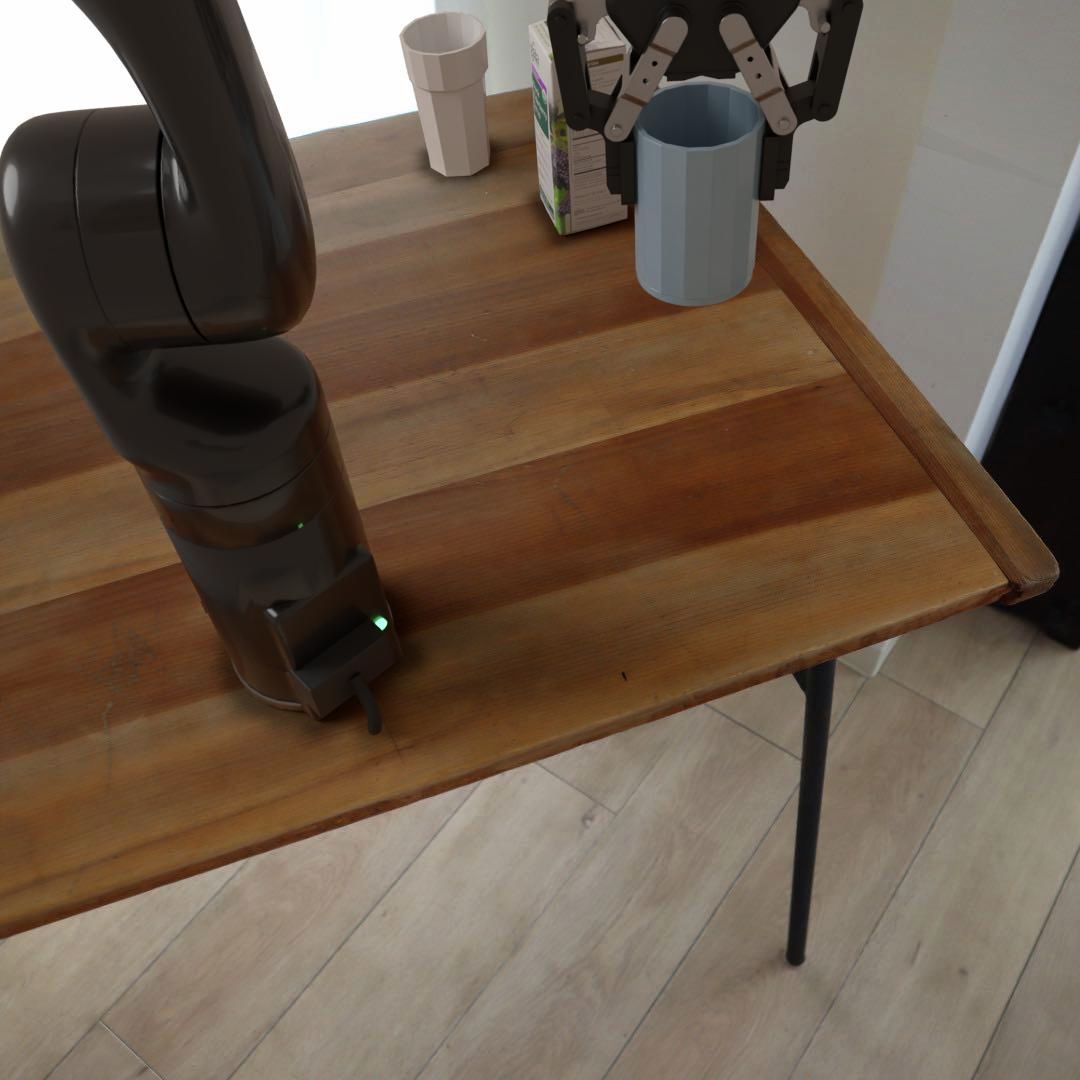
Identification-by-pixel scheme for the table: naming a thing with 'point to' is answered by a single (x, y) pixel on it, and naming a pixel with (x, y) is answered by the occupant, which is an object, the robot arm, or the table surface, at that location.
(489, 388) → the table surface
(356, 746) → the table surface
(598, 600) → the table surface
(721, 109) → the glass
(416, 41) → the cup
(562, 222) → the syrup box
